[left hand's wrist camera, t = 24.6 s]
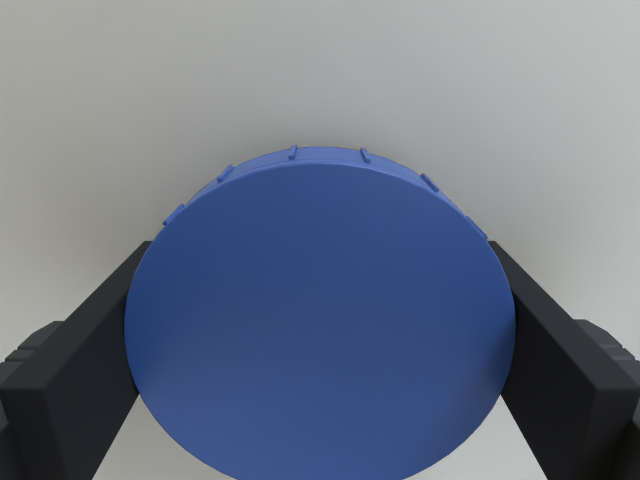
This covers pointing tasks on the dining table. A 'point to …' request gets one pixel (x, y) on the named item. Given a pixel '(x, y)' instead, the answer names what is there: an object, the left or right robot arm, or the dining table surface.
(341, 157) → the lid
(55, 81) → the dining table surface
